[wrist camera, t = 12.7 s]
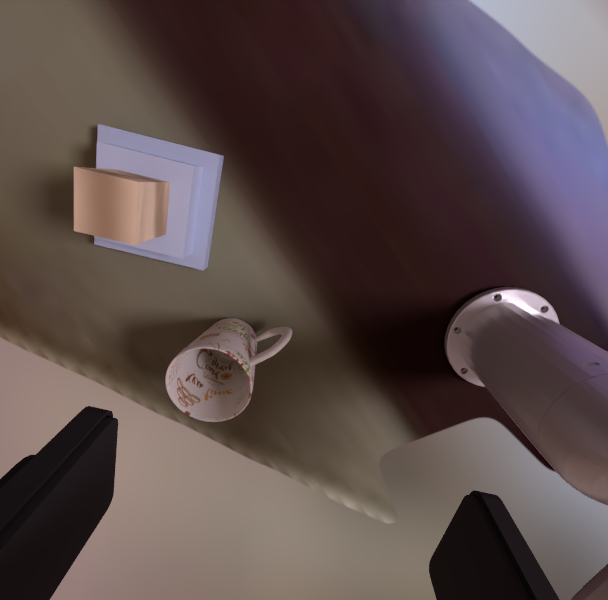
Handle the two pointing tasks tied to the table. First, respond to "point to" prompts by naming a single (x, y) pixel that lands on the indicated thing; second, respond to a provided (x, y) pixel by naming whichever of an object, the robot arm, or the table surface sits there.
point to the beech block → (120, 205)
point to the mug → (219, 370)
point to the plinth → (205, 193)
